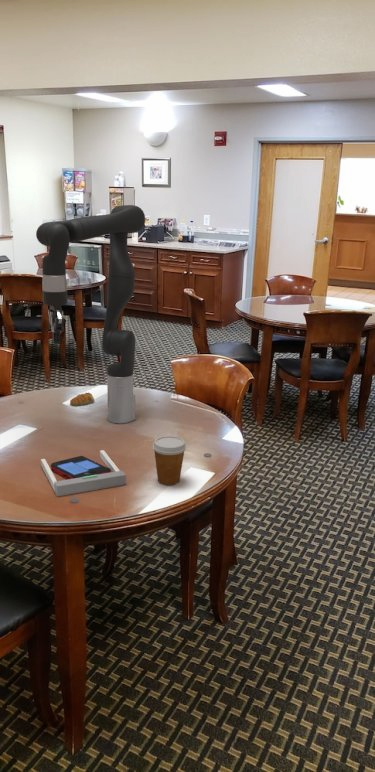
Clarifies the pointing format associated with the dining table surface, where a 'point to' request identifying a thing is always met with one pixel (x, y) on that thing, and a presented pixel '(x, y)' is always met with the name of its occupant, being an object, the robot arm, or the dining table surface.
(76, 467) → the game console
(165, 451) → the disposable coffee cup
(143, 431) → the dining table surface
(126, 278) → the robot arm
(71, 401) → the pastry
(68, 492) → the charging dock
